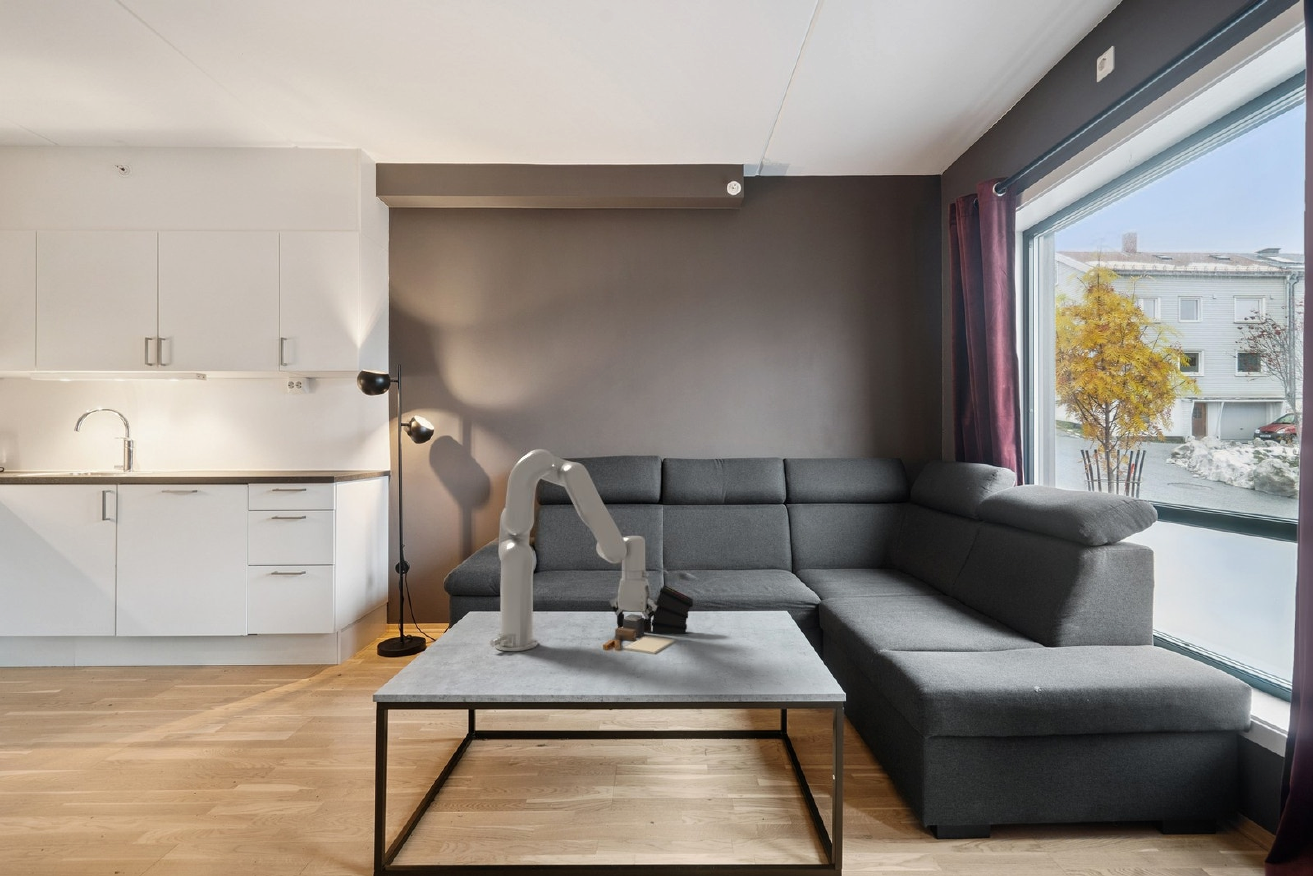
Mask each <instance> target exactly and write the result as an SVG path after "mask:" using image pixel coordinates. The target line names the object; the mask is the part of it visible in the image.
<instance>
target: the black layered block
mask: <svg viewBox="0 0 1313 876" xmlns="http://www.w3.org/2000/svg"><path fill="white" fill-rule="evenodd" d="M654 602H655V603H656V604H658V605H659V607H658V609H657V611H656V613H655V614H654V615H653V617H652V619H651V627H652V629H651V633H652V634H665V635H666V634H668V635H672V634H674V635H675V634H676V635H678V634H679V635H681V634H682V635H686V633H687V632H686V631H687V629H688V624H687V620H688V619H689V611H690V609H691V608H692V607H693V606H694V605H693V604H694V598H692V597H689V596H688V595H686V594H684V593H682V592H679V591H678V590H675V589H673V588H672V587H670V586H667V585H664V584H663V585H662V587H660V589H659V594H658V596H657V600H656V601H654Z"/></svg>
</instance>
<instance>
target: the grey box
mask: <svg viewBox="0 0 1313 876" xmlns="http://www.w3.org/2000/svg"><path fill="white" fill-rule="evenodd" d="M644 619H645V617H643V614H641V615H640V614H634V613H633V614H632V613H631V614H628V615H626V616H624V619H623V627H622V628H628V629H636V639H638V638H639V637H641V636H643V635H645V632H644Z"/></svg>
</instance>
